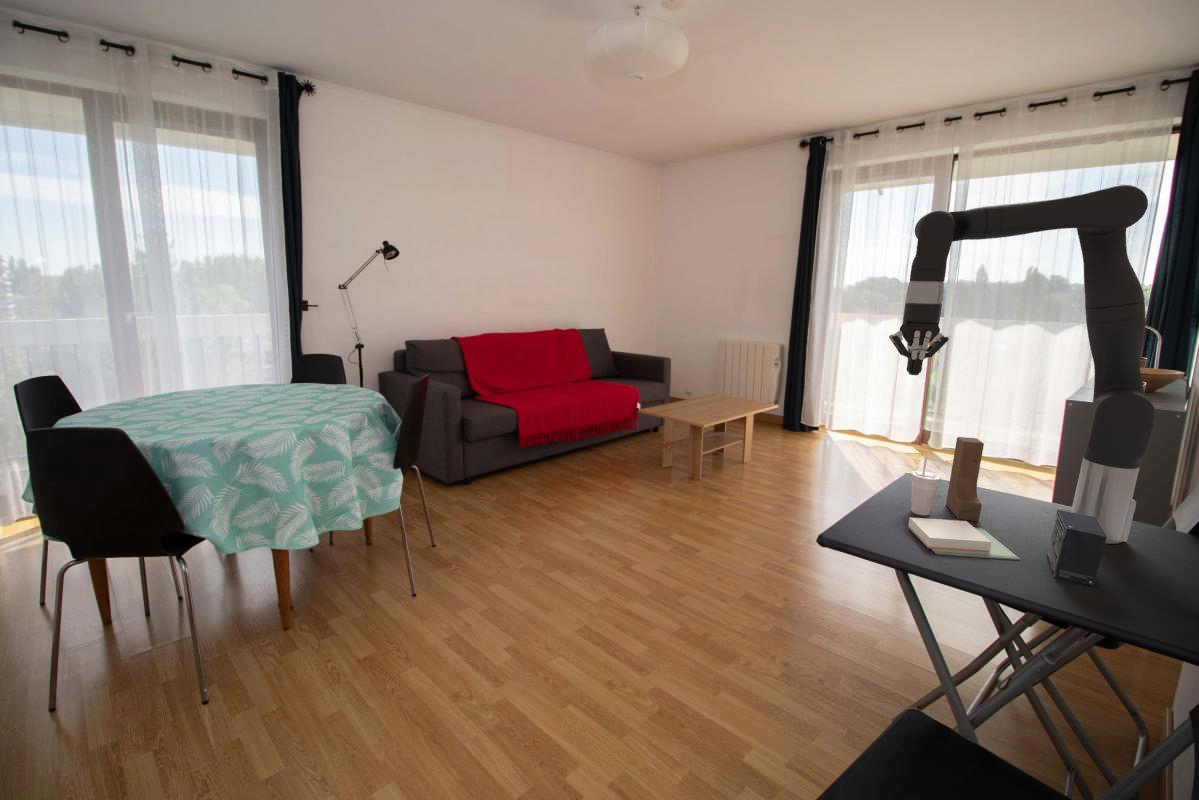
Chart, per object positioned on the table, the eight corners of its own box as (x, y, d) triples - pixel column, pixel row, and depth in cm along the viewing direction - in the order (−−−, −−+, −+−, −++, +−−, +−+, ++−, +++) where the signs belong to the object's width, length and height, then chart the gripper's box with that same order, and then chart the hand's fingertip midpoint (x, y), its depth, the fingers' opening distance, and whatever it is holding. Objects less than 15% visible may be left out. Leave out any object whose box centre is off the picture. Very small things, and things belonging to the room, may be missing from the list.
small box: (1097, 588, 103) (1109, 536, 101) (1052, 578, 107) (1063, 527, 104) (1086, 564, 112) (1097, 515, 110) (1045, 555, 116) (1055, 508, 113)
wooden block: (979, 522, 131) (992, 448, 127) (957, 519, 132) (970, 447, 128) (965, 507, 139) (977, 437, 135) (945, 504, 140) (956, 436, 136)
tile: (908, 527, 127) (964, 530, 125) (928, 548, 117) (989, 552, 116) (909, 517, 126) (966, 521, 125) (929, 537, 116) (991, 541, 115)
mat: (982, 529, 127) (982, 528, 127) (1019, 560, 113) (1020, 558, 113) (907, 524, 128) (908, 523, 128) (936, 554, 115) (936, 553, 115)
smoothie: (910, 504, 140) (918, 451, 137) (938, 512, 136) (947, 457, 132) (901, 511, 136) (909, 457, 132) (930, 520, 131) (939, 463, 128)
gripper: (946, 301, 133) (935, 373, 136) (887, 300, 134) (878, 371, 138) (962, 302, 125) (950, 378, 129) (900, 301, 127) (890, 376, 131)
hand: (913, 374), depth 134 cm, fingers closed
